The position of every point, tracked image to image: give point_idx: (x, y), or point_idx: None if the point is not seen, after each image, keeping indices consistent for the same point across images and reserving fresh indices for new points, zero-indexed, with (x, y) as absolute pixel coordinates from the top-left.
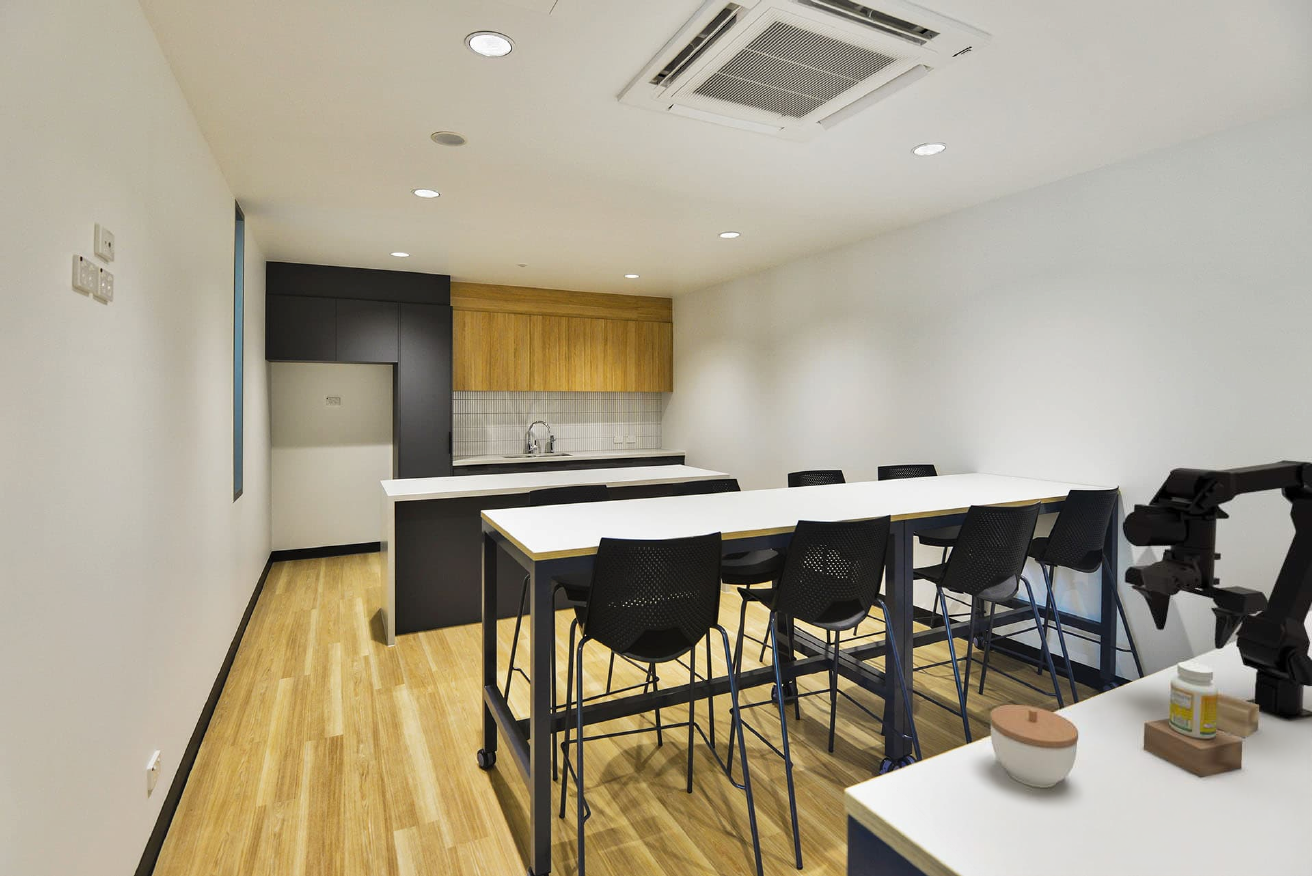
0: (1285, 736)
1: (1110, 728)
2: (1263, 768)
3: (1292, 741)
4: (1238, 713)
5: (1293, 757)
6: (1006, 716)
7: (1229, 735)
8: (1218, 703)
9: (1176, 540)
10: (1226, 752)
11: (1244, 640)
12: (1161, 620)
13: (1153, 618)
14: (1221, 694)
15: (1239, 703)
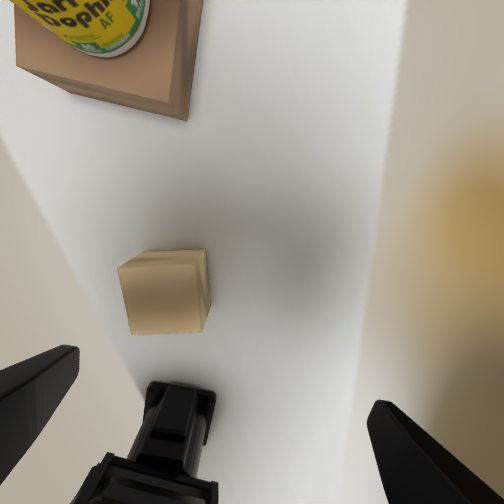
0: (120, 318)
1: (298, 28)
2: (57, 137)
3: (105, 307)
4: (136, 265)
5: (68, 240)
6: None
7: (48, 73)
8: (172, 268)
9: None
10: None
11: None
12: (404, 468)
13: (453, 457)
14: (197, 329)
15: (153, 309)
